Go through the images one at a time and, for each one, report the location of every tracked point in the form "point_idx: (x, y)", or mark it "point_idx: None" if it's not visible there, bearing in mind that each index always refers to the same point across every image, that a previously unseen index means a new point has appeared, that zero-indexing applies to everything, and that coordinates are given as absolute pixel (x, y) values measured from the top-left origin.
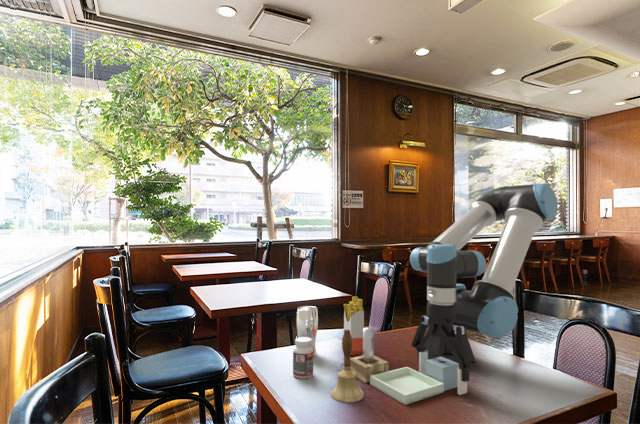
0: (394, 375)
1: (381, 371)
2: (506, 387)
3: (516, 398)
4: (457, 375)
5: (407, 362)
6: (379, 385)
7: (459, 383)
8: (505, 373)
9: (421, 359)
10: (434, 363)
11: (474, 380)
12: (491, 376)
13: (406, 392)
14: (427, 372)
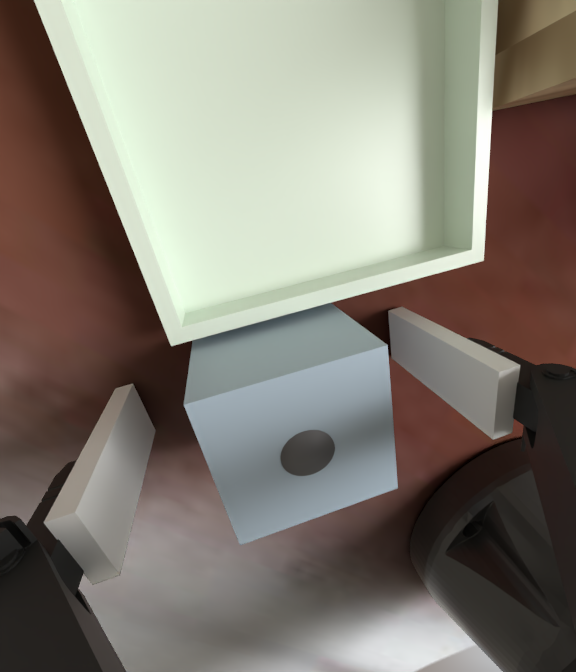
0: (451, 127)
1: (527, 8)
2: (168, 594)
3: None
4: (97, 456)
5: (547, 340)
6: None
7: (98, 427)
8: (285, 628)
9: (456, 353)
10: (299, 384)
11: None
12: (279, 583)
13: (199, 37)
14: (329, 320)
